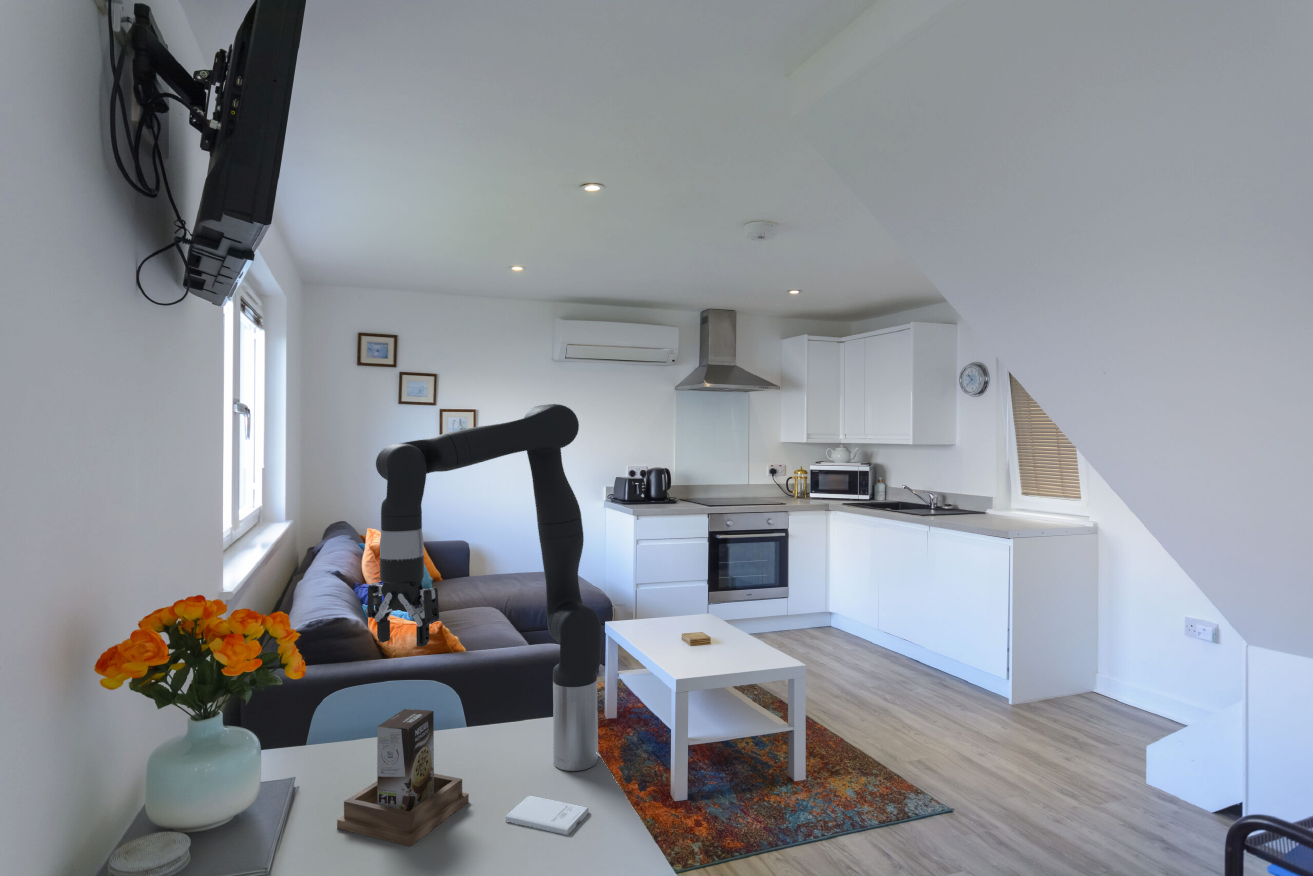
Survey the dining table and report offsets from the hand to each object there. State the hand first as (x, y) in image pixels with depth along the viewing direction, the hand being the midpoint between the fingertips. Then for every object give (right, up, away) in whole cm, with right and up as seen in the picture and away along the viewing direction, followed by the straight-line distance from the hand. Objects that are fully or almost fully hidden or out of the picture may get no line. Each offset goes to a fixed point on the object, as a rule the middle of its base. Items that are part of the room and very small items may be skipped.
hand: (403, 643), depth 133 cm
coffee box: (+1, -30, 0) cm, 30 cm away
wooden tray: (0, -31, 0) cm, 31 cm away
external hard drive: (+26, -32, -1) cm, 41 cm away
